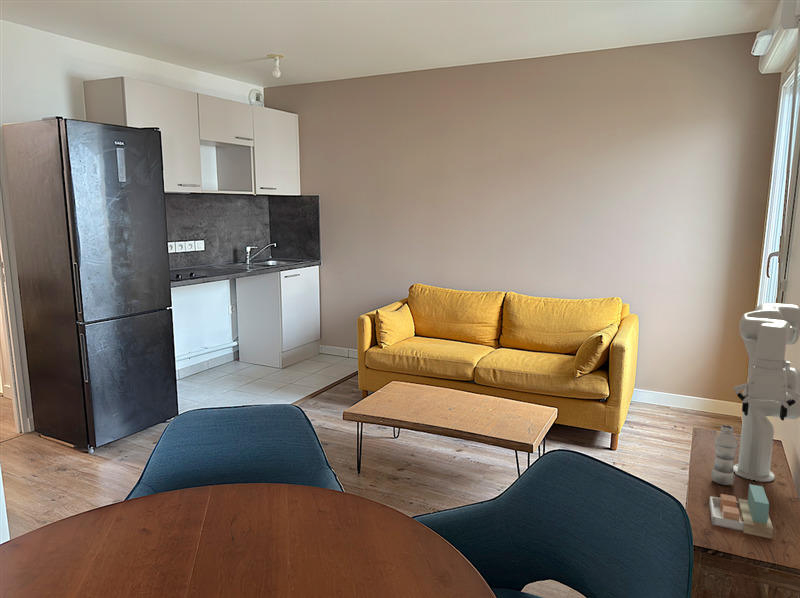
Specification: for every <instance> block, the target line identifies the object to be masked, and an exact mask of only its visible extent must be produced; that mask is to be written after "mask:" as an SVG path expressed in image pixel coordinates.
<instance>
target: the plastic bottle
mask: <svg viewBox="0 0 800 598" xmlns="http://www.w3.org/2000/svg"><path fill="white" fill-rule="evenodd" d="M734 434H735V427H733V426H732V425H727V424H722V425H721V426H720V433H719V434H718V435H717V436H716V437H715V440H714V441H715V442H714V443H715V446H714V447H715V457H714V458H715V459H714V464H713V467H712V470H711V479H712V481H713V482H714V483H716V484H718V485H722V486H730V485H732V484H733V483H734V479H735V473H734V472H733V466H734V462H735V454H736V452H737V448H738V444H739V443H738V440H737V439H736V437H735V436H734Z"/></svg>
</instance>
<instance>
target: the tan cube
mask: <svg viewBox="0 0 800 598" xmlns="http://www.w3.org/2000/svg"><path fill="white" fill-rule="evenodd" d="M719 498H720V505H719V506H720V511H721V512H722V507H723V505H725V506H730V507H735V508H736V507H737V501H738V500H737V498H736V496H734V495H730V494H724V493H720V496H719Z"/></svg>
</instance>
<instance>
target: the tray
mask: <svg viewBox="0 0 800 598" xmlns="http://www.w3.org/2000/svg"><path fill="white" fill-rule="evenodd" d="M708 505H709V510H710V518H711V524H712V526H718V527H721V528H728V529H732V530H736V531H742V532H743V526H744V522H742V521H741V519H740V516H739V521H737V520H732V519H727V518H722V512H721V511H720V506H719V505H720V497H717V496H711V495H710V496H709V504H708ZM738 506H739V501H738V500H737V507H736V508H738Z"/></svg>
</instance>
